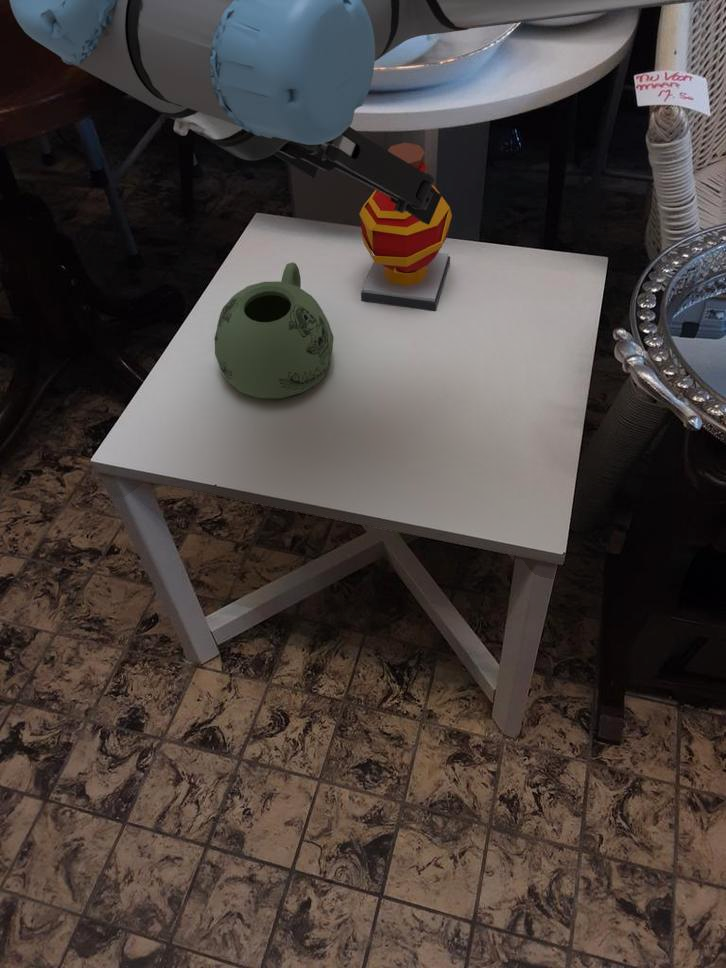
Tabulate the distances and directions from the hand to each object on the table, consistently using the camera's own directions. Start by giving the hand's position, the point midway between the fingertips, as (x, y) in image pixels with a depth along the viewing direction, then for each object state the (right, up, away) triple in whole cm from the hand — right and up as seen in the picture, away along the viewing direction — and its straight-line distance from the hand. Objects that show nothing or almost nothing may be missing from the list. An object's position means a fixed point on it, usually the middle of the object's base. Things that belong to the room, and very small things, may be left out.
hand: (372, 185), depth 72 cm
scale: (+4, -3, +22) cm, 22 cm away
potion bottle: (+4, -2, +21) cm, 21 cm away
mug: (-10, -14, +15) cm, 23 cm away
